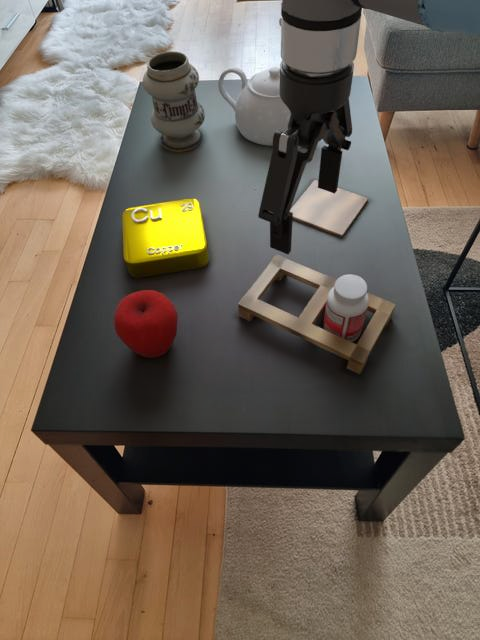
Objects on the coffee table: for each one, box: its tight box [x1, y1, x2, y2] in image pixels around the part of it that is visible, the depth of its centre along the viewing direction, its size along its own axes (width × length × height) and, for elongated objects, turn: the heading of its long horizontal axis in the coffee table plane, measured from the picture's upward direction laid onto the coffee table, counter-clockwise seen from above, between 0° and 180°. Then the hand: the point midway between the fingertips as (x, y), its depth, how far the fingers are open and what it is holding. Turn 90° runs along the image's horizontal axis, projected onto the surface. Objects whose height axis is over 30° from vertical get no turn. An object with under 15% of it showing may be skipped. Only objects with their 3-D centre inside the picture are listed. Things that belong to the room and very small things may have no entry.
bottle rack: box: [237, 254, 397, 375], centre depth 79 cm, size 22×13×4 cm, turn 58°
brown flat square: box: [290, 179, 369, 238], centre depth 95 cm, size 12×12×1 cm
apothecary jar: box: [142, 50, 206, 153], centre depth 104 cm, size 12×12×18 cm
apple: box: [113, 289, 179, 358], centre depth 74 cm, size 10×10×11 cm
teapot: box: [217, 66, 291, 146], centre depth 107 cm, size 19×18×14 cm
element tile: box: [121, 198, 210, 279], centre depth 90 cm, size 15×15×5 cm
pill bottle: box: [323, 273, 369, 343], centre depth 74 cm, size 6×6×11 cm
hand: (305, 217), depth 66 cm, fingers open, 13 cm apart
